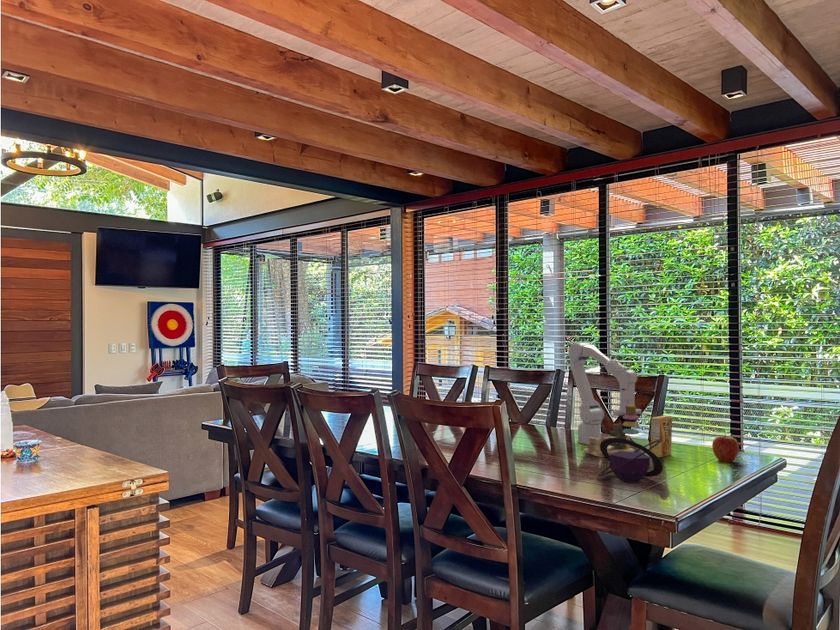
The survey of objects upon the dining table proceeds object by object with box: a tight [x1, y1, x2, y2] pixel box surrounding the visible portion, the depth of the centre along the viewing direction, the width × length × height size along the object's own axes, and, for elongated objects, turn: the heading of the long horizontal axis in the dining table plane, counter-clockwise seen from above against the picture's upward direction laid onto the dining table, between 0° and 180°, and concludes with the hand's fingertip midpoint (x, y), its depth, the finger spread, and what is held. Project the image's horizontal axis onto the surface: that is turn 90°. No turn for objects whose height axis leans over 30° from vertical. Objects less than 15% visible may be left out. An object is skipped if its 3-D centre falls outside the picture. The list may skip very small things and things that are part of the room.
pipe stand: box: [583, 434, 636, 458], centre depth 251 cm, size 10×18×7 cm, turn 118°
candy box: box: [650, 415, 673, 458], centre depth 247 cm, size 9×4×15 cm, turn 129°
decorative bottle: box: [598, 405, 664, 484], centre depth 207 cm, size 22×21×25 cm
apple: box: [711, 434, 740, 463], centre depth 238 cm, size 9×9×10 cm
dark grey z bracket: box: [609, 423, 626, 448], centre depth 253 cm, size 6×2×9 cm, turn 28°
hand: (627, 432), depth 256 cm, fingers closed
